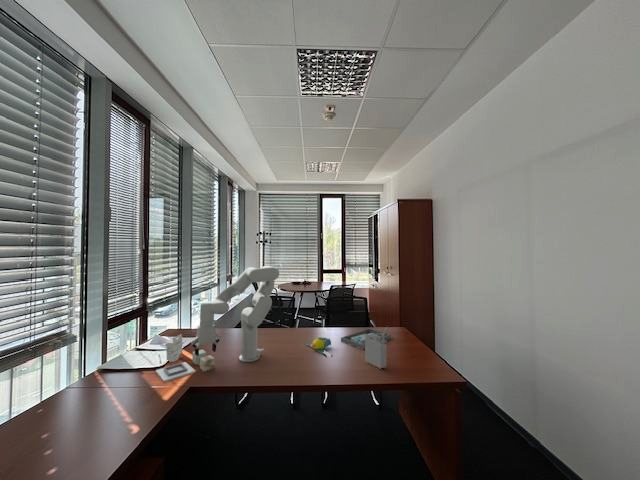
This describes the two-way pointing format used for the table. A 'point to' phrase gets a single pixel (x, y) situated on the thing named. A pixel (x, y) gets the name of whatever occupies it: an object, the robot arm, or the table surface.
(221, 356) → the table surface
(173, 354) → the ink cartridge box
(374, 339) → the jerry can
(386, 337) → the desk tray
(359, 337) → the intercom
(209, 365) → the maple block
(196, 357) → the sage block
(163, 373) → the baseplate
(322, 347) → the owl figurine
